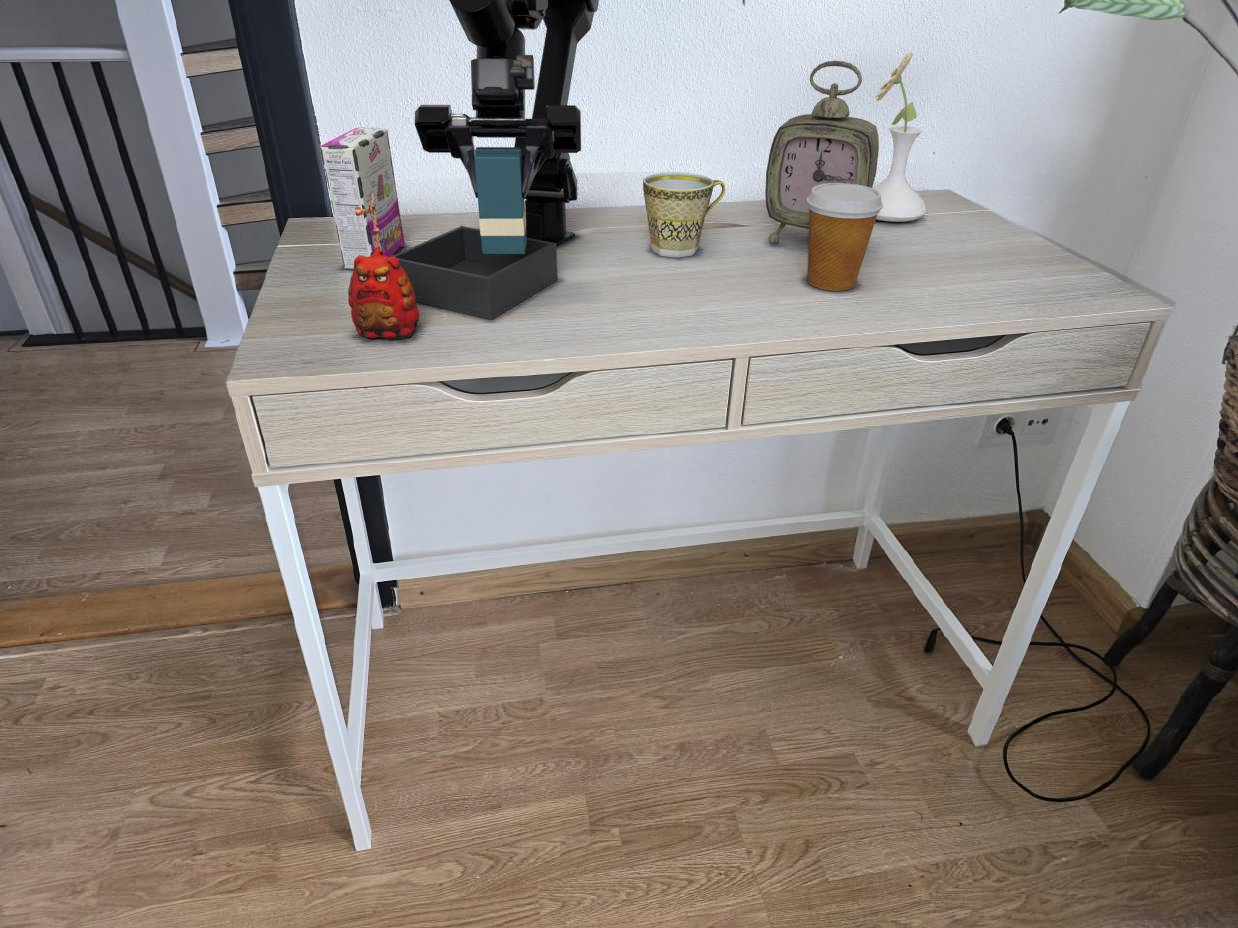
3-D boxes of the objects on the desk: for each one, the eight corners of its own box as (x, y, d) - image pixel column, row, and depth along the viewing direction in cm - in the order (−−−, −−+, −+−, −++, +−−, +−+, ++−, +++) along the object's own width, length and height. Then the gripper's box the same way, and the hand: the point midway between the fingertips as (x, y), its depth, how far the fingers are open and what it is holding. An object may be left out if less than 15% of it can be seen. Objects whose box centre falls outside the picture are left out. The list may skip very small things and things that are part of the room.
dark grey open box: (465, 261, 114) (461, 225, 112) (557, 280, 109) (556, 243, 106) (392, 297, 103) (387, 257, 100) (491, 320, 97) (488, 279, 94)
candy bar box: (373, 244, 120) (355, 126, 111) (405, 246, 120) (389, 128, 111) (340, 270, 111) (317, 143, 102) (375, 272, 110) (355, 145, 101)
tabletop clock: (758, 246, 122) (778, 61, 108) (771, 229, 129) (792, 54, 115) (856, 259, 117) (890, 68, 104) (864, 241, 124) (897, 60, 111)
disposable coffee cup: (870, 275, 112) (887, 186, 105) (864, 300, 104) (882, 205, 98) (800, 267, 114) (813, 179, 108) (790, 290, 107) (802, 197, 100)
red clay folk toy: (347, 343, 91) (322, 208, 83) (363, 318, 97) (341, 190, 89) (415, 344, 91) (396, 209, 83) (427, 319, 97) (411, 191, 89)
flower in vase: (877, 204, 142) (907, 44, 128) (937, 218, 135) (975, 51, 121) (834, 218, 134) (860, 49, 121) (895, 234, 127) (930, 57, 114)
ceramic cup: (662, 265, 114) (665, 193, 108) (628, 245, 121) (630, 176, 116) (739, 252, 119) (745, 182, 114) (702, 233, 126) (707, 167, 121)
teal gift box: (485, 242, 99) (477, 144, 93) (527, 242, 99) (522, 144, 93) (481, 254, 96) (473, 152, 89) (525, 254, 96) (519, 153, 89)
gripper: (405, 24, 87) (401, 156, 84) (579, 26, 88) (581, 157, 85) (426, 90, 98) (422, 209, 95) (580, 91, 99) (581, 209, 96)
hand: (499, 196), depth 93 cm, fingers closed on teal gift box, 5 cm apart
